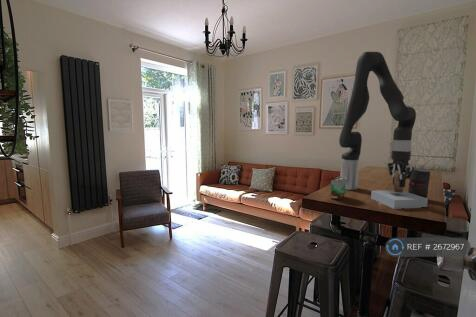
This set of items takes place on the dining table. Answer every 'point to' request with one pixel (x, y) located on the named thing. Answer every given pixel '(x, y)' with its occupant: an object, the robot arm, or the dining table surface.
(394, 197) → the socket board
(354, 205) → the dining table surface
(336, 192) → the food container
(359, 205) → the dining table surface
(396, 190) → the peg
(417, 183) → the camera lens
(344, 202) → the dining table surface
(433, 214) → the dining table surface
